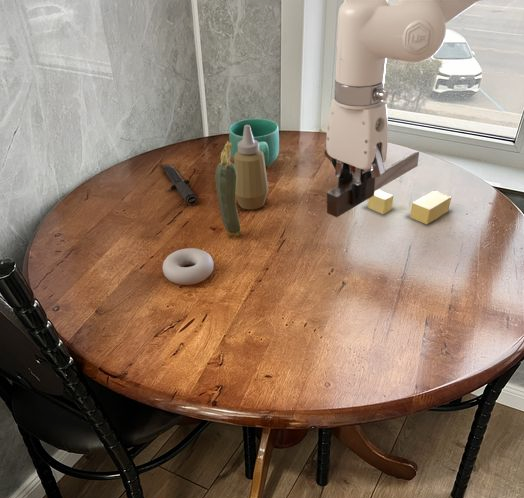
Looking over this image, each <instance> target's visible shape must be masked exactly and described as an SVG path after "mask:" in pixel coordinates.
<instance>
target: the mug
mask: <svg viewBox="0 0 524 498" xmlns="http://www.w3.org/2000/svg"><path fill="white" fill-rule="evenodd" d="M245 125H250V128H251V132H252V135H253V139H254V140H257V141H258V142H259V150H260V151H262V152H263V154H264V160H265V167H268V166H270V165H271V164H273V163H275V161H276V160H277V158H278V156H279V154H280V134H279V133H280V132H279V131H280V130H279V125H278V123H277V122H275V121H273V120H271V119H266V118H247V119H241V120H238V121H236V122H234V123H232V124H231V125H229V128H228V137H229V142H231V143H232V147H231V148H230V149H231V158H232V159H233V161H234V155H235V153H236V152H237V151H238V142H239V141H241V140H242V139H243V132H244V126H245Z"/></svg>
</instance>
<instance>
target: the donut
mask: <svg viewBox="0 0 524 498" xmlns="http://www.w3.org/2000/svg"><path fill="white" fill-rule="evenodd" d="M214 266H215V263H214V260H213V257H212V256H211V255H210V254H209V253H208V252H207V251H205V250H202V249H200V248H195V247H189V248H186V247H185V248H181V249H177V250H176V251H173V252H171V253H170V254H169V255H167V257H166V258H165V259H164V260H163V263H162V268H161V269H162V272H163V276H164V277H165V278H166V279H167V280H168V281H170V282H171V283H174V284H176V285H181V286H191V285H192V286H193V285H196V284H200V283H201V282H204V281H205V280H207V279H208V278H209V277H211V274H212V273H213V271H214Z"/></svg>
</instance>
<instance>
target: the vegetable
mask: <svg viewBox="0 0 524 498" xmlns="http://www.w3.org/2000/svg"><path fill="white" fill-rule="evenodd" d="M231 147H232V143H231V142H230V140H227V141H226V143H225V144H224V146H223V148H222V151H221V153H220V162H219V163H217V166H216V169H215V173H214V174H215V188H216V194H217V202H218V206H219V211H220V217H221V221H222V224H223V226H224V229H225V230H226V232H228V233H229V234H231V235H233V236H236V237H239V235H240V234H241V233H242V232H241V222H240V218H239V213H238V212H239V211H238V208H237V204H236V196H235V192H236V182H237V171H236V167H235V165H234V162H232V161H230V160H231V158H232V155H231V149H230V148H231Z"/></svg>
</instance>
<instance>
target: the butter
mask: <svg viewBox="0 0 524 498" xmlns="http://www.w3.org/2000/svg"><path fill="white" fill-rule="evenodd" d="M451 200H452V196H451V195H448V194H446V193H444V192H443V193H442V192H441V191H440V192H439V191H437V190H432V191H430V192H428V193H427V194H425V195H424V196H421V197H420V198H418V199H416V200H414V201H413V202H411V206H410V207H411V208H410V214H409V219H413V220H415V221H417V222H419V223H422V224H425V225H429V224H430V223H432V222H434V221H435V220H437V219H438V218H440V217H441V216H444V215H445V214H446V213H448V212H449V211H450V207H451V206H450V205H451Z"/></svg>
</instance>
